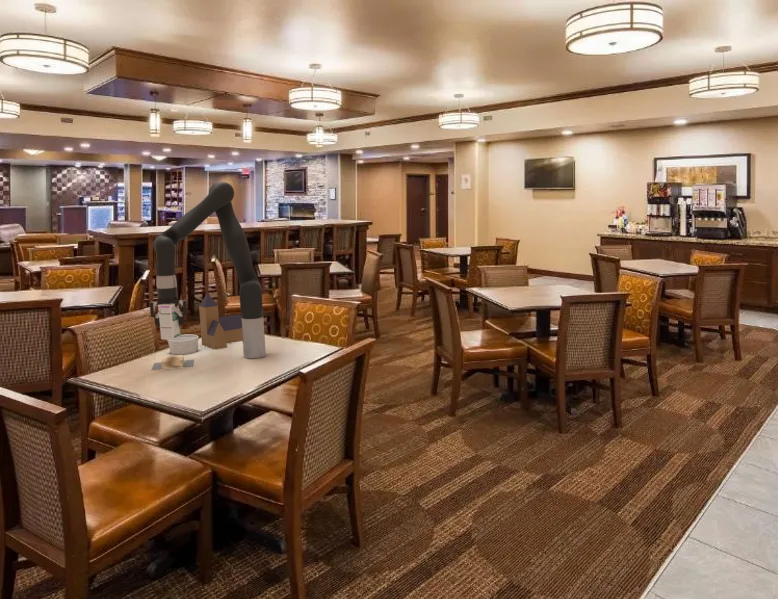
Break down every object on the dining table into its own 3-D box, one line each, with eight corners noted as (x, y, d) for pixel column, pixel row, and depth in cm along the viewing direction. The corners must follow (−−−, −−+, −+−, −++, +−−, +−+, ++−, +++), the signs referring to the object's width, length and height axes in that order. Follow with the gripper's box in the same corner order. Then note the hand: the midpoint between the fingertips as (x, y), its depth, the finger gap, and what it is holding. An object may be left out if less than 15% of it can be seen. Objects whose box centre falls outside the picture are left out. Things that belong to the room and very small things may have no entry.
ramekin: (197, 355, 261) (196, 340, 260) (165, 357, 259) (164, 341, 257) (201, 348, 274) (200, 333, 272) (171, 349, 272) (170, 335, 270)
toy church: (202, 345, 279) (198, 292, 275) (238, 338, 292) (234, 288, 288) (214, 349, 270) (210, 295, 266) (250, 342, 283) (247, 290, 278)
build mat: (194, 360, 252) (194, 359, 252) (193, 368, 241) (193, 366, 241) (154, 364, 248) (154, 362, 247) (151, 371, 237) (151, 370, 237)
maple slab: (184, 361, 248) (183, 355, 248) (182, 367, 241) (182, 359, 240) (163, 363, 246) (163, 356, 246) (161, 368, 239) (161, 361, 238)
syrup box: (173, 340, 238) (171, 304, 236) (160, 339, 239) (157, 304, 237) (181, 336, 244) (179, 302, 241) (168, 336, 245) (165, 301, 242)
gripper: (186, 284, 243) (189, 323, 246) (148, 286, 240) (152, 325, 242) (185, 286, 236) (188, 326, 239) (146, 288, 232) (150, 329, 235)
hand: (170, 326), depth 241 cm, fingers closed on syrup box, 7 cm apart
